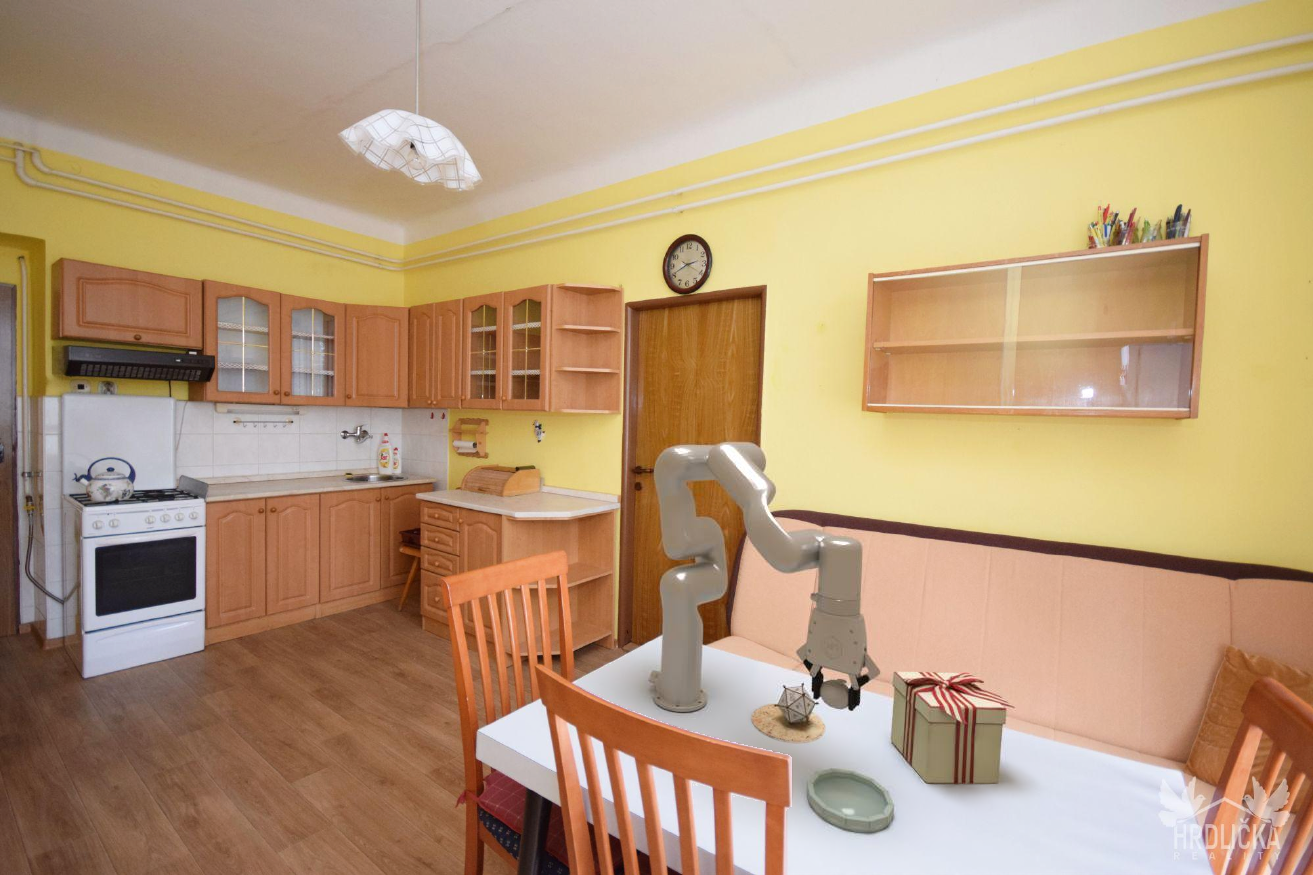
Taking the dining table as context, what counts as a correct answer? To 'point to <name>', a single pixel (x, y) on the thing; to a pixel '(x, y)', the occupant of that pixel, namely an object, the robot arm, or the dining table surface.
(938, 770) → the gift box
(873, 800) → the plate
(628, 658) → the dining table surface
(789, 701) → the game die
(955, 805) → the dining table surface
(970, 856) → the dining table surface
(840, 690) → the garlic
